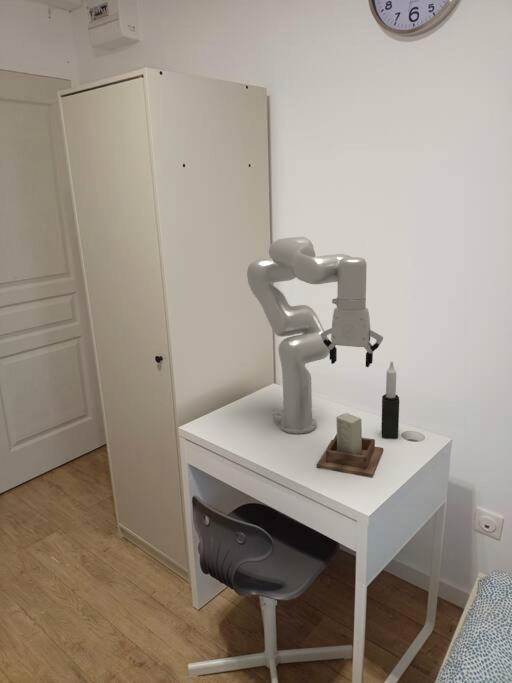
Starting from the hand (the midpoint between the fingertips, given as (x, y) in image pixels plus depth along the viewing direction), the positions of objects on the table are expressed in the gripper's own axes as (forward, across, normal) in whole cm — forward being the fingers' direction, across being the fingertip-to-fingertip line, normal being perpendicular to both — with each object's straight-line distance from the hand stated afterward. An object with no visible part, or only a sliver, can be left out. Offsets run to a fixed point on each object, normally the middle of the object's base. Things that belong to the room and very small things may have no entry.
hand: (350, 363), depth 140 cm
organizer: (+29, 0, 0) cm, 29 cm away
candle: (+30, +8, +19) cm, 36 cm away
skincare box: (+29, 0, 0) cm, 29 cm away
